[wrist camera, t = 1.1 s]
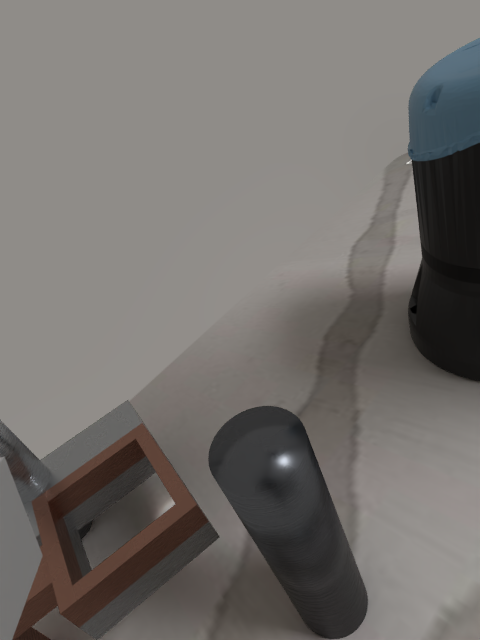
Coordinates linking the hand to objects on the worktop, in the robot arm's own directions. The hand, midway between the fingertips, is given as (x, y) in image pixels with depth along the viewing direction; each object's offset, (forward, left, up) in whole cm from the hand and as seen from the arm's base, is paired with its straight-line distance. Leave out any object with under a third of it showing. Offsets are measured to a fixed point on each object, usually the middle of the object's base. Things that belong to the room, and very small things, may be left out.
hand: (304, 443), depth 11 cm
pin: (-1, -6, -23) cm, 24 cm away
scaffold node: (+11, -19, -23) cm, 32 cm away
